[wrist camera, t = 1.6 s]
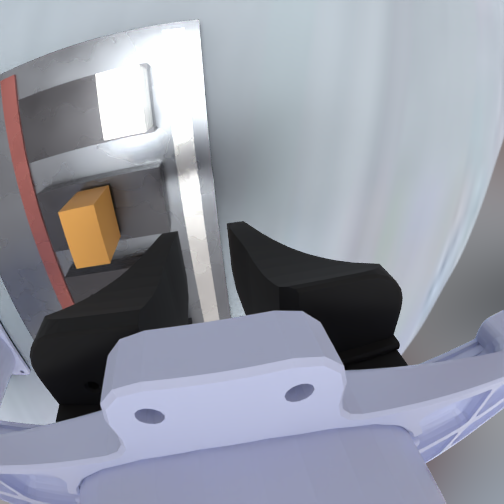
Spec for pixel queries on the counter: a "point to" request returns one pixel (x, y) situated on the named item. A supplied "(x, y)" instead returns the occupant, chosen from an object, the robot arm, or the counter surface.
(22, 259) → the panel
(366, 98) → the counter surface
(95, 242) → the orange block
